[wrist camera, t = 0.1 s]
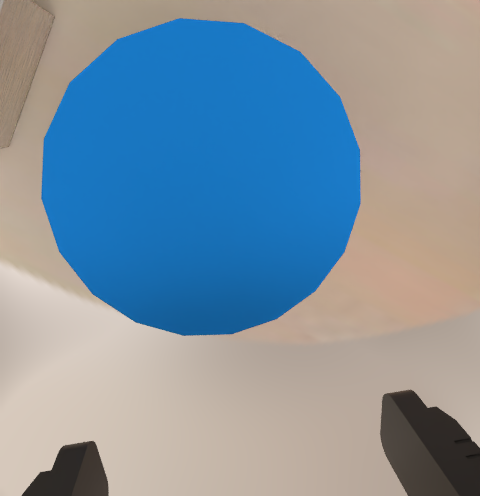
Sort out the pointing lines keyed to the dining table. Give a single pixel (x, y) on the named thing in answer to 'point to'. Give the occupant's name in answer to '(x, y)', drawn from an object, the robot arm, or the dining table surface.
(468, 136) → the dining table surface
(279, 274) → the thermos
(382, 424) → the robot arm
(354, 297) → the dining table surface
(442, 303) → the dining table surface
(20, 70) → the housing
